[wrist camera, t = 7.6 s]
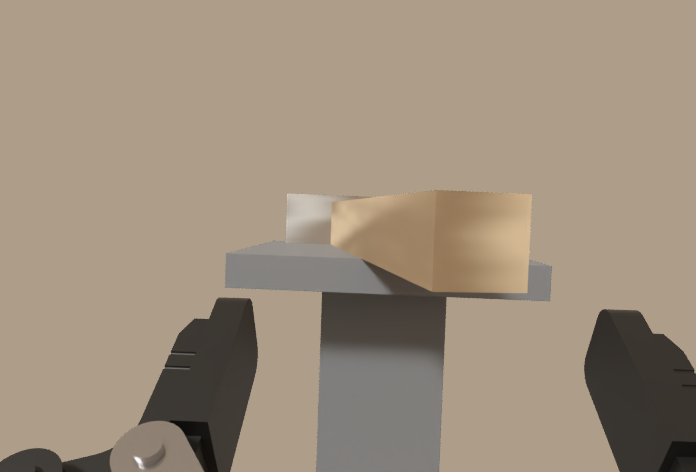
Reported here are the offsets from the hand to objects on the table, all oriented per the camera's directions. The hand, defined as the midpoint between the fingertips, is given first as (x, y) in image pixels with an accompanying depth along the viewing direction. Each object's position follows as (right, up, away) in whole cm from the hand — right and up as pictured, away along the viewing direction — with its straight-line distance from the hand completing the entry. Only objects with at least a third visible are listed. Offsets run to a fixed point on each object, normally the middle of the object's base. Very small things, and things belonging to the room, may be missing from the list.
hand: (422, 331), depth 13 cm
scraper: (0, +1, +12) cm, 12 cm away
